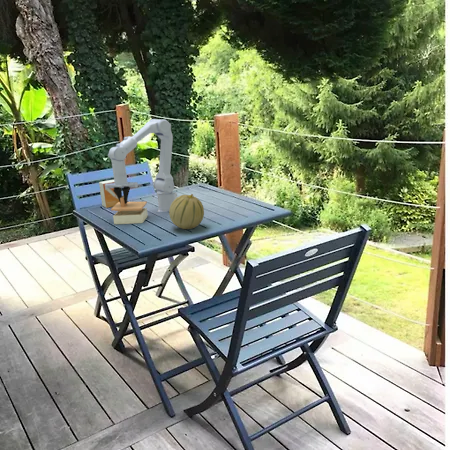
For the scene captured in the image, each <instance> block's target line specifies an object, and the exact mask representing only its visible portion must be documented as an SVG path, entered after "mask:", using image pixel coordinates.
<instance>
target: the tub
mask: <svg viewBox="0 0 450 450" xmlns="http://www.w3.org/2000/svg"><path fill="white" fill-rule="evenodd" d="M137 213H139V214H137ZM134 214H136V215H134ZM148 216H149V215H148V207H143V209H142V210H139V211H116V212H115V214H113V216H112V218H113V224H114V225H125V224H127V225H130V224H132V225H133V224H143V223H144V221H146V219H147V218H148Z"/></svg>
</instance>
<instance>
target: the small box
mask: <svg viewBox="0 0 450 450" xmlns="http://www.w3.org/2000/svg"><path fill="white" fill-rule="evenodd" d="M111 183H115V182H114V179H110V180H109V179H108V180H104V181H99V182H98V186H99V193H100V200H101V205H102V207H104V208H106V209H107V208H113V207H114V206H115V205H116V204H117V203H118V202H120V201H119V199H118V197H117V195H116V194H115V192H114V191H113V190H114V188H108V189H105V184H111Z"/></svg>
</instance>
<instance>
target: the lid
mask: <svg viewBox="0 0 450 450" xmlns="http://www.w3.org/2000/svg"><path fill="white" fill-rule="evenodd" d="M120 202H121V204H120ZM120 202H118V203H117V204H116V205H115V206H113V207H111V209H110V210H111V211H115V212H118V211H139V210H142V209H143V208H145V207H146V205H147V204H148V201H127V203H126V204H125V202H124V195H123V194H122V197H121V198H120Z"/></svg>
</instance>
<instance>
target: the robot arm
mask: <svg viewBox="0 0 450 450" xmlns="http://www.w3.org/2000/svg"><path fill="white" fill-rule="evenodd" d="M171 128H172V125H171V123H170V122H169V121H168V120H167V119H162V118H161V119H160V118H159V119H157V118H152V119H150V120H149V121H147V122H146V123H145V124H144V125H143V126H142V127H141V128H140V129H139V130H138V131H136V133H135V134H133V135H132V136H130V135H129V136H124V137H123V140H121V142H119V143H116V145H115V146H112V147H111V148H110V149H109V151H108V153H107V156H108V158H109V159H110V161H111V168H112V173H113V180H114V182H115V183H111V184H105V189H108V188H114V190H113V191H114V192H115V194H116V195H117V197H118V199H119V201H120V198H121V197H122V196H123V195H124V202H125V204H126V203H127V202H128V197H129V194H130V190H131V188H138V187H139V184H138V181H137V182H136V181H135V182H133V181H132V182H131V181H128V175H127V169H126V162H125V160H126V158H127V155H128V154H129V153H131V152H132V151H133V150H135V148H137V146H138V142H140V141H141V140H143V139H144V138H145V137H147V136H148V135H150V134H154V135H156V136H157V137H158V138H159V139H160V151H159V165H158V173H157V174H156V175H155V179H154V181H153V189H154V190H155V191H156V193H157V202H158V203H157V204H158V210H157V211H156V213H157V212H158V213H159V212H160V213H161V212H162V213H163V212H169V209H170V206H171V204H172V202H173V201H174V200H175V199H176V198H177V197H178V193H177V192H175V191H174V190H175V183H174V177H173V176H172V174H171V167H172V153H173V142H174V141H173V139H174V136H173V133H172V129H171ZM120 204H121V202H120Z"/></svg>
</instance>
